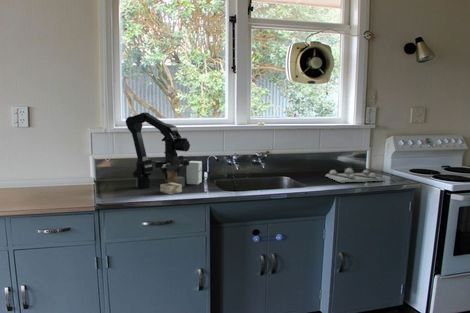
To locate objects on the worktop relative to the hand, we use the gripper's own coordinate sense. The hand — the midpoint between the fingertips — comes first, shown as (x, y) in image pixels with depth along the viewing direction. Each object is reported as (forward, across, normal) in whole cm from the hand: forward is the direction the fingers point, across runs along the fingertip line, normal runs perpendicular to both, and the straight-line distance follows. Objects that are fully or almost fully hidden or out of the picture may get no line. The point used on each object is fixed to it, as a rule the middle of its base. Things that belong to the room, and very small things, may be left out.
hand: (170, 179), depth 211 cm
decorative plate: (+7, +113, -22) cm, 115 cm away
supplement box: (+7, +20, +14) cm, 25 cm away
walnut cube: (+1, 0, 0) cm, 1 cm away
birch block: (+7, 0, 0) cm, 7 cm away
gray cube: (+7, +9, +11) cm, 16 cm away
